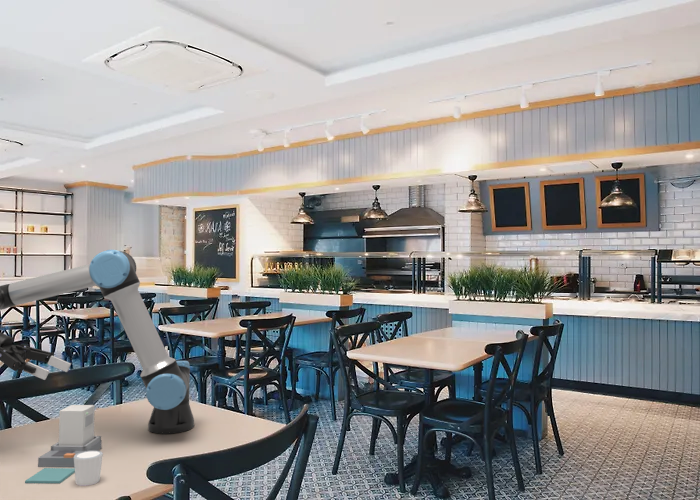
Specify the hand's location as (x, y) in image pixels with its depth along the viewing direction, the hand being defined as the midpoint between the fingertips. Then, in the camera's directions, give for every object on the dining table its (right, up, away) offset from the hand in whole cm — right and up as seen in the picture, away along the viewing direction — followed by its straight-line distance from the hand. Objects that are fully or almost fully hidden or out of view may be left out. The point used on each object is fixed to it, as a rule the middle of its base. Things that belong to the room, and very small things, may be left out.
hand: (58, 371), depth 167 cm
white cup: (+20, -23, -24) cm, 39 cm away
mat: (+9, -23, -21) cm, 33 cm away
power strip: (+7, -24, -2) cm, 25 cm away
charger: (+7, -21, -3) cm, 23 cm away
